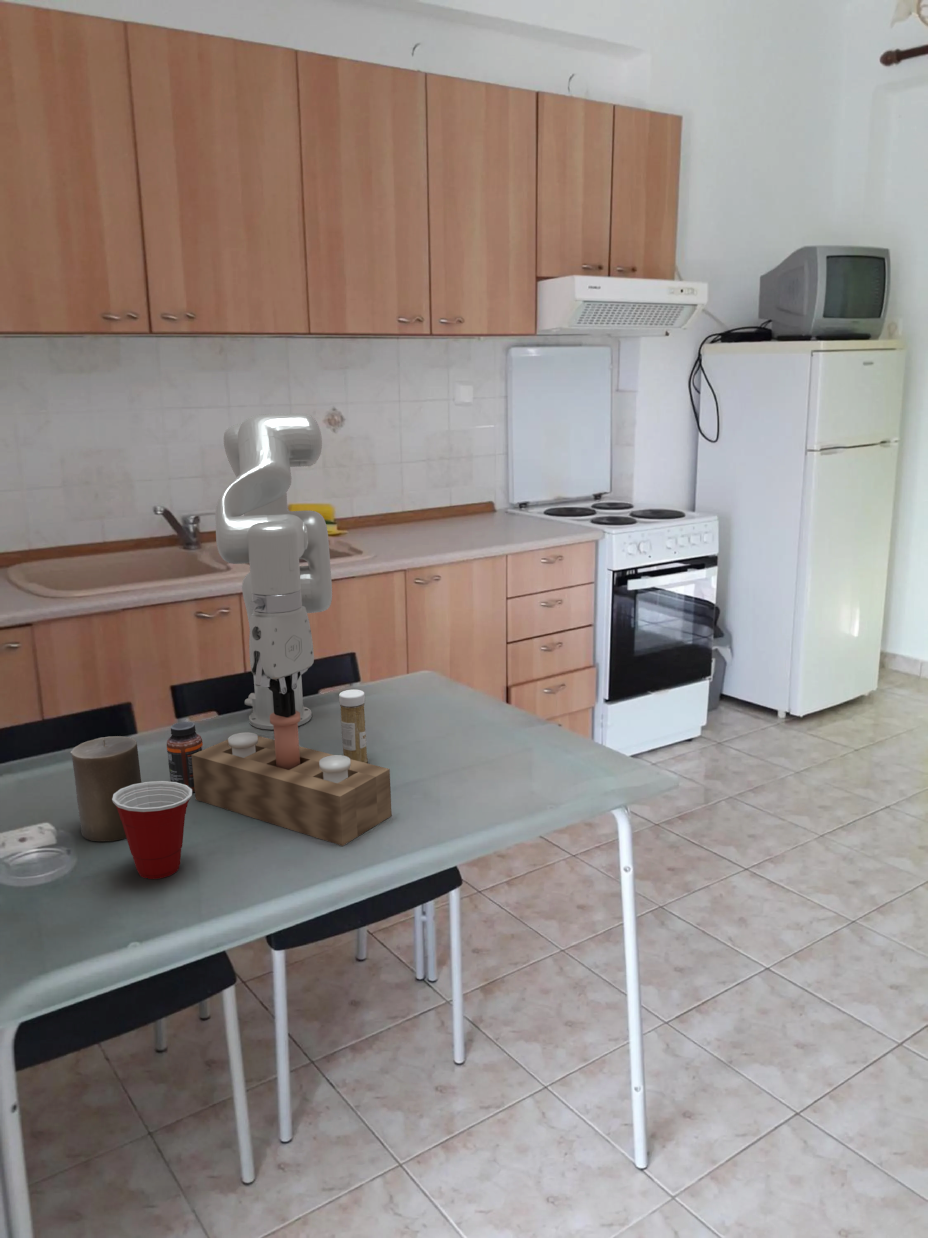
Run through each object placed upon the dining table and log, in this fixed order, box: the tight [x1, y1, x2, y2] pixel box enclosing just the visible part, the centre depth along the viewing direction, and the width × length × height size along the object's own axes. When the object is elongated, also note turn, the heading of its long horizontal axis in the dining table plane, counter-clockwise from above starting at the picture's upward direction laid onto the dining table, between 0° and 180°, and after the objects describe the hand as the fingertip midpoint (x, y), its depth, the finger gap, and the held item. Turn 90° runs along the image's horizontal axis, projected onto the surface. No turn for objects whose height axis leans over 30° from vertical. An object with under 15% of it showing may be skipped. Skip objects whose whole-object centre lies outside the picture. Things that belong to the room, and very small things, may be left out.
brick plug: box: [270, 711, 301, 770], centre depth 157 cm, size 5×5×10 cm
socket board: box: [191, 735, 392, 847], centre depth 159 cm, size 32×12×8 cm, turn 57°
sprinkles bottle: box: [338, 689, 369, 763], centre depth 176 cm, size 5×5×14 cm
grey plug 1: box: [227, 732, 259, 758], centre depth 164 cm, size 5×5×10 cm
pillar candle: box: [70, 735, 143, 842], centre depth 152 cm, size 10×10×15 cm
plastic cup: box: [112, 780, 193, 880], centre depth 139 cm, size 11×11×12 cm
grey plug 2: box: [319, 754, 351, 783], centre depth 153 cm, size 5×5×10 cm
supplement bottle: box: [166, 721, 204, 793], centre depth 167 cm, size 6×6×11 cm
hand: (284, 714), depth 156 cm, fingers closed
